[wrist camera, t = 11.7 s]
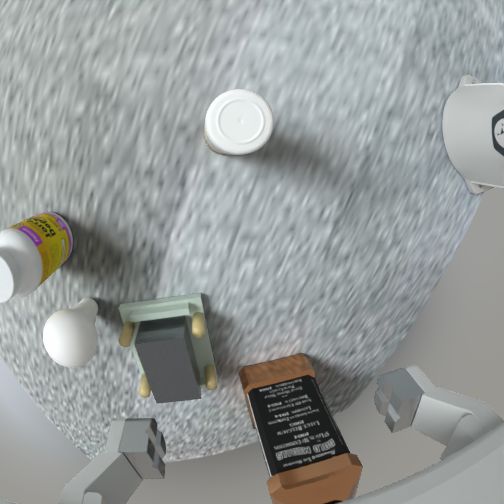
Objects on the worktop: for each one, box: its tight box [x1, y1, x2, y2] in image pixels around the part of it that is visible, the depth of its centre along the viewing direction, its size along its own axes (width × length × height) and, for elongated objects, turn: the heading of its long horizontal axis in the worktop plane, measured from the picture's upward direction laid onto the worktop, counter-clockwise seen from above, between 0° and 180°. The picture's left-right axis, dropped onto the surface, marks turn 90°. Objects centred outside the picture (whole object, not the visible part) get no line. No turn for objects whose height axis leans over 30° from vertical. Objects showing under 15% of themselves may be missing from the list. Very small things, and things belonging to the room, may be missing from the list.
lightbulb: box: [43, 298, 98, 368], centre depth 30 cm, size 6×6×11 cm
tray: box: [119, 293, 218, 397], centre depth 36 cm, size 10×13×5 cm
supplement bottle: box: [0, 212, 73, 303], centre depth 25 cm, size 7×7×13 cm
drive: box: [134, 315, 201, 403], centre depth 35 cm, size 6×9×5 cm, turn 6°
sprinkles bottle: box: [204, 89, 274, 155], centre depth 25 cm, size 5×5×13 cm
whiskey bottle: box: [239, 353, 363, 504], centre depth 28 cm, size 10×10×32 cm
